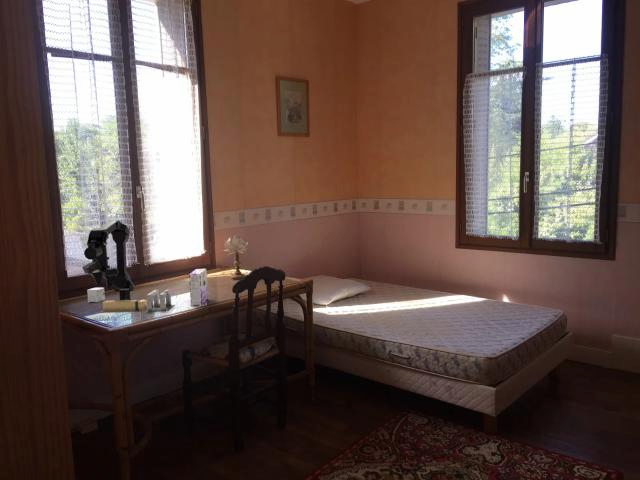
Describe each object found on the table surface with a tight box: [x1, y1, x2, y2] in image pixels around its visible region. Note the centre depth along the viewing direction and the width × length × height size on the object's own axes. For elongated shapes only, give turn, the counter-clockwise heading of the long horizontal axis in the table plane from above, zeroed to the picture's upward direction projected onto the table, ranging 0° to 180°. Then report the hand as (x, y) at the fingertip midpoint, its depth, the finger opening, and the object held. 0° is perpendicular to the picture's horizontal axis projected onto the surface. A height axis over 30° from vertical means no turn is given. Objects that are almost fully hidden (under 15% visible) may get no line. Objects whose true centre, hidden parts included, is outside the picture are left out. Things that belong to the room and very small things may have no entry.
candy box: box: [188, 268, 209, 307], centre depth 273 cm, size 14×6×16 cm, turn 178°
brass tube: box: [102, 298, 148, 311], centre depth 261 cm, size 4×20×4 cm, turn 89°
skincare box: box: [86, 287, 106, 304], centre depth 281 cm, size 6×6×7 cm
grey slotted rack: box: [97, 288, 176, 314], centre depth 261 cm, size 12×34×9 cm, turn 89°
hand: (103, 287), depth 254 cm, fingers open, 9 cm apart
